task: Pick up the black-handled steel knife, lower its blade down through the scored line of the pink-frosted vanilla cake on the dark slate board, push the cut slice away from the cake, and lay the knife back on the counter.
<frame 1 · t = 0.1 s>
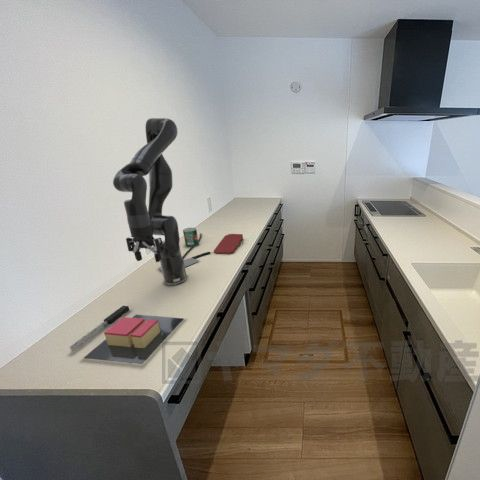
hand: (149, 260, 111), 17 cm above the table, tool pointing down, fingers open, 8 cm apart
knife: (118, 318, 102), on the table
cake slice: (148, 339, 90), point 1 cm above the table, touching slate board
slate board: (139, 338, 92), on the table
red slab: (230, 246, 171), on the table
cleaver: (188, 262, 148), on the table
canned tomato: (192, 245, 172), on the table
cake: (128, 337, 91), point 1 cm above the table, touching slate board
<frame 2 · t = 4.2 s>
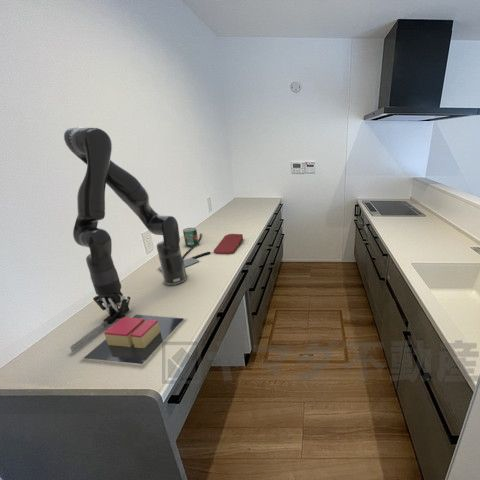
hand: (118, 318, 102), 0 cm above the table, tool pointing down, fingers closed on knife, 2 cm apart
knife: (118, 318, 102), on the table, touching gripper
everything else where it was.
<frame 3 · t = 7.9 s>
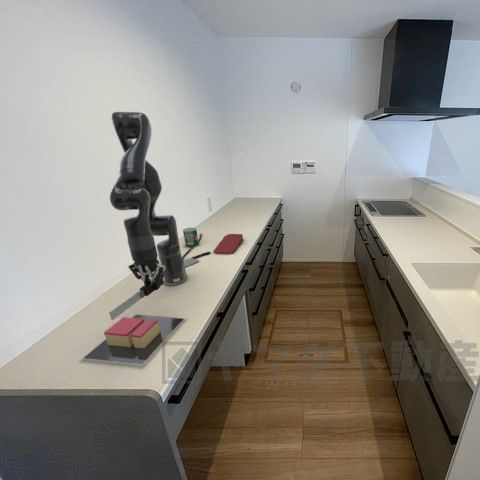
hand: (153, 288, 97), 14 cm above the table, tool pointing down, fingers closed on knife, 2 cm apart
knife: (153, 289, 97), point 14 cm above the table, touching gripper
everything else where it was.
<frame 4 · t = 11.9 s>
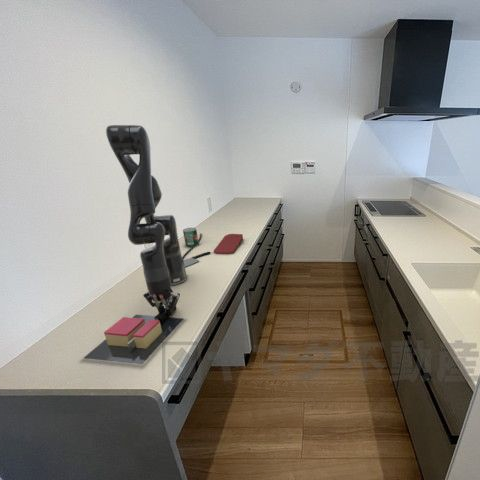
hand: (166, 315, 101), 2 cm above the table, tool pointing down, fingers closed on knife, 2 cm apart
knife: (166, 316, 101), point 2 cm above the table, touching gripper
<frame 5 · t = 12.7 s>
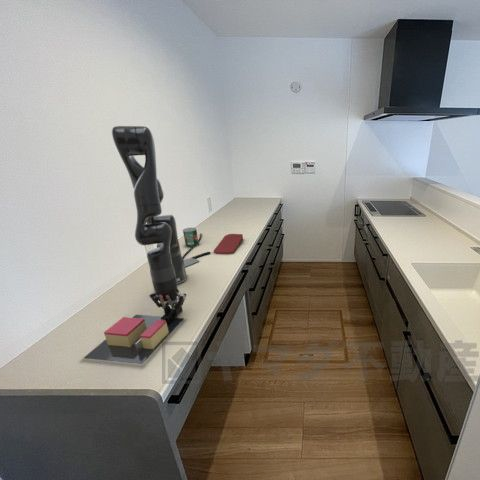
hand: (172, 315, 101), 2 cm above the table, tool pointing down, fingers closed on knife, 2 cm apart
knife: (172, 316, 101), point 1 cm above the table, touching cake slice, gripper
cake slice: (156, 340, 90), point 1 cm above the table, touching knife, slate board
everything else where it was.
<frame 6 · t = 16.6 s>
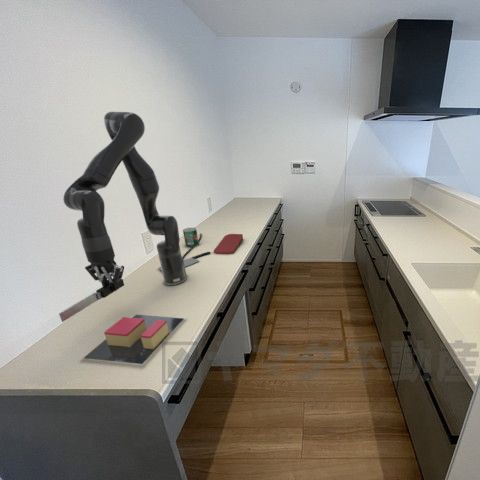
hand: (111, 289, 97), 13 cm above the table, tool pointing down, fingers closed on knife, 2 cm apart
knife: (111, 291, 97), point 13 cm above the table, touching gripper
cake slice: (157, 340, 90), point 1 cm above the table, touching slate board
everything else where it was.
when the fingers open (0 cm above the table, at t = 19.6 s): knife stays where it is, on the table.
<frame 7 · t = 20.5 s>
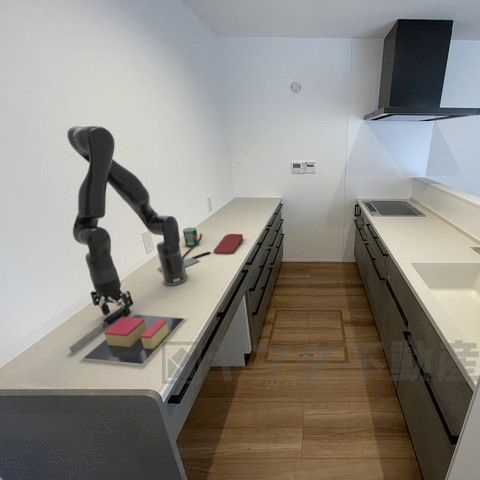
hand: (117, 314, 101), 2 cm above the table, tool pointing down, fingers open, 8 cm apart
knife: (117, 319, 101), on the table
everything else where it was.
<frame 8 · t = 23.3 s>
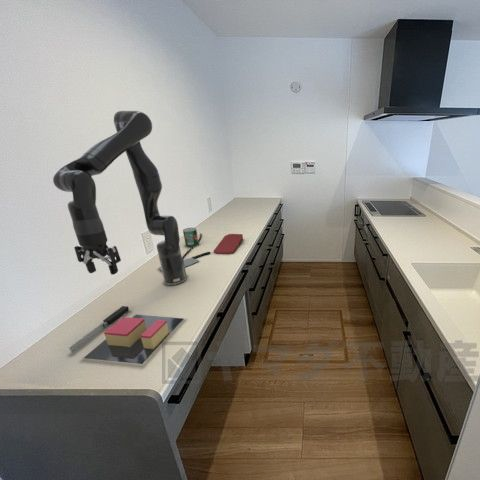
hand: (103, 272, 94), 20 cm above the table, tool pointing down, fingers open, 8 cm apart
nothing on the table moved.
at the end: cake slice moved 3.3 cm from its start; cake slice tilted 0°; cake moved 0.0 cm from its start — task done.
